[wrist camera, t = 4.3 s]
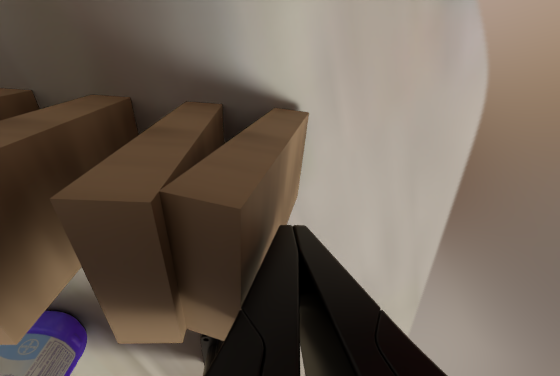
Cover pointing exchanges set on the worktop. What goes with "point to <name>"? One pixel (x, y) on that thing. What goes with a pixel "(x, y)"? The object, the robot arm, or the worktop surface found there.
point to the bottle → (46, 348)
